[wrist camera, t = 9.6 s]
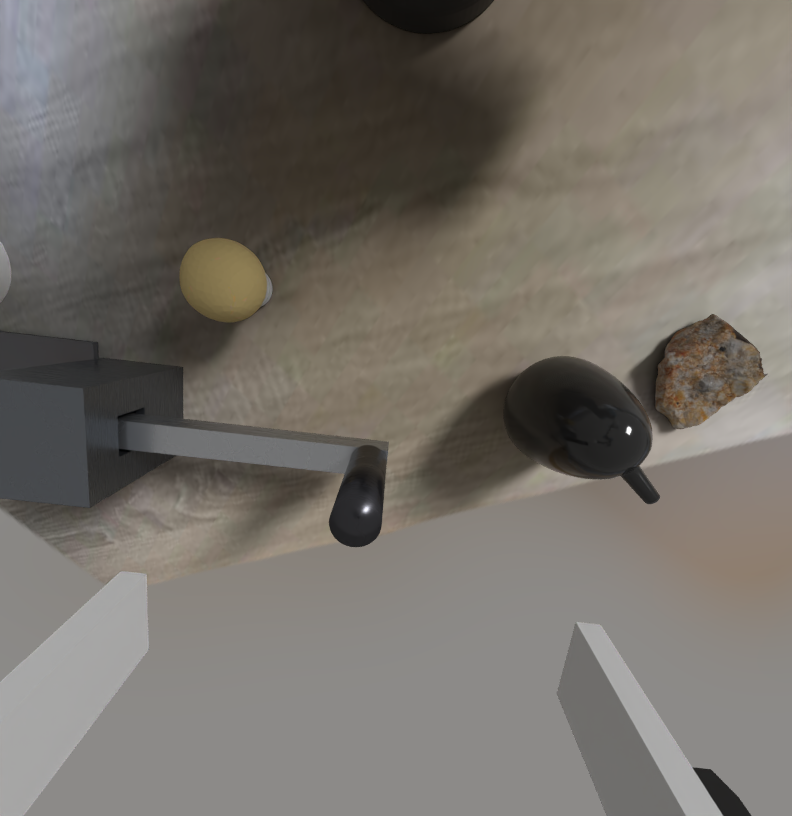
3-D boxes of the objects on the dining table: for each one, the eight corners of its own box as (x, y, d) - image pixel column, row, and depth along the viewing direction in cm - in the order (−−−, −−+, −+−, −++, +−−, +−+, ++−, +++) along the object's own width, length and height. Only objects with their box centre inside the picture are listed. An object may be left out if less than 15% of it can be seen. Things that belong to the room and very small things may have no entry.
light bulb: (217, 312, 39) (156, 309, 29) (228, 245, 38) (168, 218, 28) (281, 329, 39) (242, 332, 29) (294, 263, 38) (258, 243, 28)
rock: (685, 305, 39) (628, 389, 39) (754, 301, 33) (688, 400, 33) (726, 356, 42) (673, 434, 42) (795, 361, 37) (734, 450, 36)
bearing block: (103, 357, 40) (-35, 375, 27) (182, 366, 40) (83, 388, 27) (106, 442, 42) (-20, 496, 29) (183, 451, 42) (89, 507, 29)
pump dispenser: (529, 469, 42) (599, 550, 27) (475, 391, 40) (519, 433, 26) (613, 415, 41) (735, 468, 26) (561, 332, 39) (660, 339, 24)
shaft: (52, 400, 34) (-139, 445, 22) (389, 438, 35) (384, 502, 22) (55, 434, 35) (-130, 495, 22) (385, 470, 35) (378, 549, 23)
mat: (-21, 328, 39) (-27, 328, 39) (97, 342, 40) (93, 342, 39) (-8, 443, 42) (-14, 445, 41) (102, 455, 42) (98, 457, 42)
